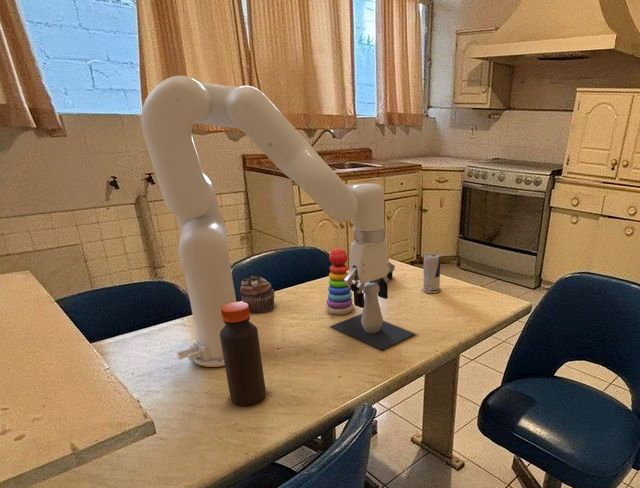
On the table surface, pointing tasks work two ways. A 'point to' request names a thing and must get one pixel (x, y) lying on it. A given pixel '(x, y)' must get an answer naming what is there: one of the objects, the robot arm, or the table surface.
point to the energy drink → (431, 273)
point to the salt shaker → (371, 309)
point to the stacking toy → (338, 285)
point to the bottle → (242, 355)
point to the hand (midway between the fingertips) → (371, 301)
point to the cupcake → (257, 294)
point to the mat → (380, 339)
